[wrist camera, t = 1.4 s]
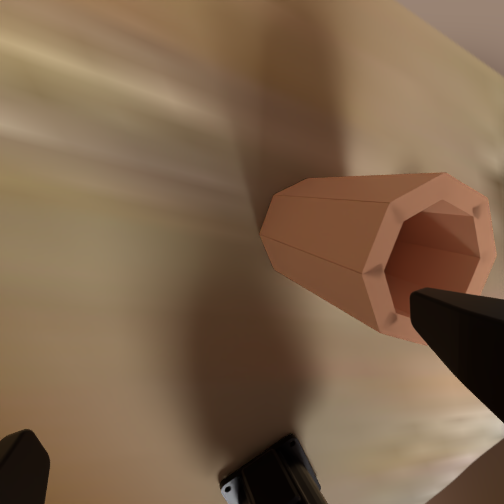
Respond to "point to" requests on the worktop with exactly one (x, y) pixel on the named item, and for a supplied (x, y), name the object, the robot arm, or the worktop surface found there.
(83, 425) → the worktop surface
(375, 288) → the terracotta pot
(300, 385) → the worktop surface
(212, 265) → the worktop surface
